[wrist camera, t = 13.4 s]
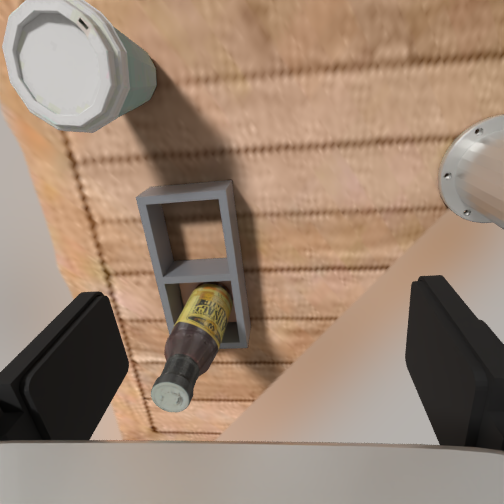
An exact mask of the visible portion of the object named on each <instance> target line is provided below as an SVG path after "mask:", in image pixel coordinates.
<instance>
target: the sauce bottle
mask: <svg viewBox="0 0 504 504" xmlns="http://www.w3.org/2000/svg"><path fill="white" fill-rule="evenodd" d="M232 302H233V297H232V294H231V292H230V290H229V289H228V288H227V286H225V285H224V284H222V283H219V282H216V281H214V282H204V283H201V284H199V285H198V286H197V287H196V289H195V290H194V291H193V292H192V294H191V296H190V298H189V299H188V301H187V303H186V305H185V307H184V309H183V311H182V312H181V314H180V316H179V318H178V320H177V321H176V323H175V325H174V327H173V329H172V332H171V334H170V336H169V337H168V339H167V342H166V345H165V358H166V361H167V362H166V364H165V367H164V369H163V372H162V374H161V376H160V377H158V378H157V380H156V381H155V383H154V385H153V388H152V391H151V397H152V400H153V401H154V403H155V404H156V405H157V406H158V407H160V408H161V409H162V410H165V411H168V412H180V411H183V410H184V409H186V408H187V407H188V405H189V404H190V401H191V399H192V397H193V388H194V385H195V383H196V380H197V379H198V377H199V376H200V375H202V374H203V373H205V372H206V371H207V370H208V369H209V367H210V365H211V363H212V361H213V360H214V358H215V356H216V354H217V352H218V350H219V347H220V344H221V341H222V338H223V335H224V332H225V329H226V326H227V323H228V320H229V317H230V313H231V310H232Z"/></svg>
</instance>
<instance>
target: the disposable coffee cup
mask: <svg viewBox="0 0 504 504" xmlns="http://www.w3.org/2000/svg"><path fill="white" fill-rule="evenodd" d="M2 48H3V52H4V56H5V61H6V65H7V69H8V74H9V79H10V83H11V84H12V86H13V87H14V89H15V90H16V92H17V93H18V95H19V96H20V97H21V99H22V100H23V102H24V103H25V105H26V106H27V108H28V109H29V111H30V112H31V113H32V114H34V115H35V116H37V117H39V118H40V119H42V120H43V121H45V122H47V123H48V124H50V125H51V126H53V127H54V128H56V129H58V130H64V131H73V132H89V133H94V132H95V131H97V130H99V129H100V128H102V127H103V126H105V125H107V124H108V123H110V122H112V121H113V120H115V119H116V118H118V117H120V116H122V115H123V114H125V113H127V112H129V111H131V110H133V109H135V108H137V107H139V106H141V105H142V104H144V103H145V102H147V101H149V100H150V99H151V97H152V95H153V92H154V90H155V88H156V86H157V82H156V68H155V66H154V64H153V62H152V61H151V59H150V57H149V55H148V53H147V52H146V51H144V50H143V49H142V48H140V47H139V46H138V45H137V44H135V43H134V42H133V41H131V40H130V39H129V38H127V37H126V36H125V35H124V34H122V33H121V32H120V31H118V30H117V29H116V28H114V27H113V26H112V24H111V23H110V22H109V21H108V20H107V18H106V17H105V16H104V15H103V14H102V13H101V12H100V11H98V10H97V9H96V8H94V7H93V6H91V5H90V4H88V3H87V2H85V1H84V0H26V1H25V2H24V3H22V4H21V5H20V6H19V7H18V8H17V9H16V10H15V11H13V12H12V13H11V15H9V18H8V23H7V27H6V32H5V37H4V42H3V46H2Z"/></svg>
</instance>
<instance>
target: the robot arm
mask: <svg viewBox="0 0 504 504" xmlns="http://www.w3.org/2000/svg"><path fill="white" fill-rule="evenodd" d="M476 129H477V132H476V133H475V130H476ZM446 173H447V176H445V177H444V175H445V174H446ZM438 188H439V192H440V195H441V197H442V199H443V201H444V203H445V204H446V205H447V207H448V208H449V209H450V210H451V211H453V212H454V213H455V214H456V215H458V216H460V217H461V218H463V219H466V220H469V221H472V222H480V223H491V222H493V223H495V224H497V225H498V226H499V227H501V228H502V229H504V114H502V115H496V116H492V117H489V118H486V119H483V120H481V121H479V122H477V123H475V124H473V125H472V126H470V127H469V128H467V129H466V130H465V131H464V132H462V133H461V134H460V135H459V136H458V137H457V138H456V139H455V140H454V141H453V143H452V144H451V145H450V146H449V148H448V150H447V151H446V153H445V155H444V157H443V159H442V162H441V165H440V167H439V173H438ZM465 210H466V211H465ZM464 211H465V212H464ZM405 359H406V365H407V368H408V370H409V373H410V375H411V378H412V380H413V383H414V385H415V387H416V390H417V392H418V394H419V397H420V399H421V401H422V404H423V406H424V408H425V411H426V413H427V415H428V418H429V420H430V422H431V425H432V427H433V430H434V432H435V434H436V437H437V439H438V441H439V444H440V445H423V444H383V443H334V442H333V443H332V442H331V443H330V442H264V441H263V442H262V441H261V442H260V441H154V440H119V441H118V440H89V439H90V438H91V436H92V434H93V432H94V431H95V429H96V427H97V425H98V424H99V422H100V420H101V418H102V416H103V415H104V413H105V411H106V409H107V408H108V406H109V404H110V402H111V401H112V399H113V397H114V395H115V393H116V392H117V390H118V388H119V386H120V385H121V383H122V381H123V379H124V377H125V376H126V374H127V372H128V368H129V362H128V358H127V355H126V352H125V348H124V345H123V342H122V339H121V336H120V332H119V329H118V326H117V323H116V320H115V317H114V313H113V310H112V307H111V304H110V301H109V298H108V297H107V296H104V295H103V293H102V292H82V293H80V294H79V295H78V296H77V297H76V298H75V299H74V300H73V301H72V302H71V303H70V304H69V305H68V306H67V307H66V308H65V309H64V310H63V311H62V312H61V313H60V314H59V315H58V316H57V317H56V318H55V319H54V320H53V321H52V322H51V323H50V324H49V325H48V326H47V327H46V328H45V329H44V330H43V331H42V332H41V333H40V334H39V335H38V336H37V337H36V338H35V339H34V340H33V341H32V342H31V343H30V344H29V345H28V346H27V347H26V348H25V349H24V350H23V351H22V352H21V353H19V354H18V356H17V357H15V358H14V360H13V361H11V363H9V364H8V365H7V366H6V367H5V368H4V369H3V370H2V371H1V372H0V504H504V344H503V343H502V342H501V341H500V340H499V339H498V338H497V336H496V335H495V334H494V333H493V332H492V330H491V329H490V328H489V327H488V325H487V324H486V323H485V322H483V321H482V320H479V319H478V318H477V317H476V316H475V315H474V314H473V312H472V311H471V310H470V309H469V307H468V306H467V305H466V304H465V303H464V301H463V300H462V299H461V298H460V296H459V295H458V294H457V293H456V292H455V290H454V289H453V288H452V287H451V285H450V284H449V283H448V282H447V281H446V279H445V278H444V277H443V276H441V275H436V276H420V277H419V279H418V281H415V282H412V285H411V295H410V307H409V319H408V330H407V342H406V354H405Z"/></svg>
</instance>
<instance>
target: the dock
mask: <svg viewBox="0 0 504 504" xmlns="http://www.w3.org/2000/svg"><path fill="white" fill-rule="evenodd" d="M211 199H219V206H220V212H221V219H222V226H223V232H224V239H225V246H226V253H227V258H214V259H196V260H179V261H174V260H173V255H172V250H171V246H170V241H169V237H168V232H167V227H166V223H165V218H164V213H163V209H162V204H161V203H174V202H186V201H199V200H211ZM136 200H137V204H138V208H139V212H140V216H141V220H142V224H143V228H144V232H145V237H146V241H147V245H148V249H149V253H150V257H151V261H152V265H153V269H154V273H155V277H156V281H157V285H158V290H159V294H160V298H161V302H162V306H163V310H164V314H165V318H166V322H167V326H168V330H169V334H171V332H172V329H173V327H174V325H175V323H176V321H177V320H178V318H179V316H180V314H181V312H182V311H183V309H184V307H185V305H186V303H187V301H188V299H189V298H190V296H191V294H192V292H193V291H194V290H195V289H196V287H197V286H198V285H199V284H201V283H204V282H214V281H216V282H219V283H222V284H224V285H225V286H227V288H228V289H229V290H230V292H231V294H232V297H233V302H232V310H231V313H230V317H229V320H228V323H227V326H226V329H225V332H224V335H223V338H222V341H221V344H220V347H219V349H226V348H248V342H249V336H250V330H251V323H250V316H249V308H248V300H247V293H246V285H245V277H244V270H243V262H242V254H241V246H240V239H239V231H238V223H237V216H236V208H235V200H234V193H233V185H232V180H225V181H213V182H201V183H190V184H178V185H166V186H155V187H150V188H148V189H147V190H145V191H144V192H143V193H141V194H140V195H138V196H137V197H136ZM179 285H180V287H179ZM180 289H181V292H180ZM181 294H182V296H181ZM182 299H183V301H182ZM183 303H184V306H183Z"/></svg>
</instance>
